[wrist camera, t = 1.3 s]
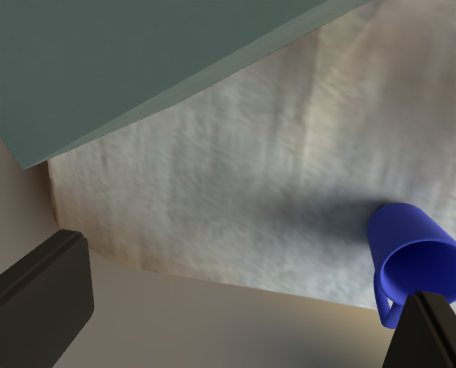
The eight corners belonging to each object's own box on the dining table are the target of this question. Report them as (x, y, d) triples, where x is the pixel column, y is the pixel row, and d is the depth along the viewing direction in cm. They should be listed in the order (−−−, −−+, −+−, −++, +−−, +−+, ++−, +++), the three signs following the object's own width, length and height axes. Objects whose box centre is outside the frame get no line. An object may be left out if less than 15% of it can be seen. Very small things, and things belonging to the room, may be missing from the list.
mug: (339, 267, 44) (351, 324, 34) (374, 186, 39) (398, 227, 30) (401, 285, 43) (431, 348, 34) (445, 204, 38) (493, 252, 29)
